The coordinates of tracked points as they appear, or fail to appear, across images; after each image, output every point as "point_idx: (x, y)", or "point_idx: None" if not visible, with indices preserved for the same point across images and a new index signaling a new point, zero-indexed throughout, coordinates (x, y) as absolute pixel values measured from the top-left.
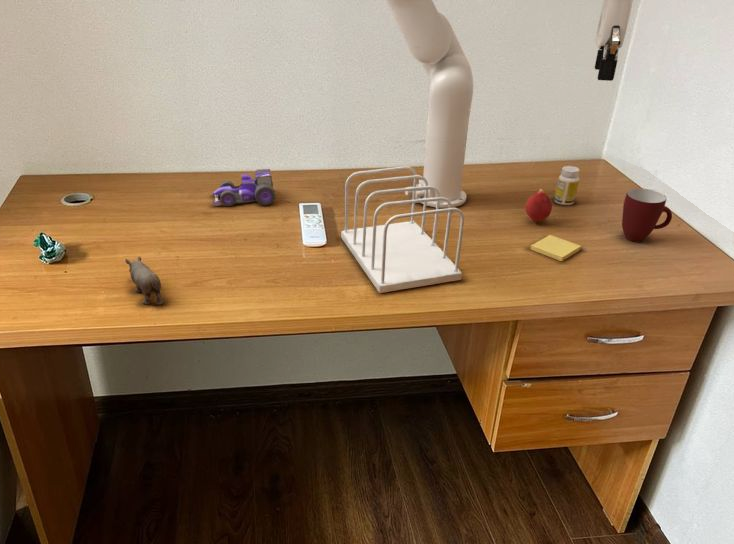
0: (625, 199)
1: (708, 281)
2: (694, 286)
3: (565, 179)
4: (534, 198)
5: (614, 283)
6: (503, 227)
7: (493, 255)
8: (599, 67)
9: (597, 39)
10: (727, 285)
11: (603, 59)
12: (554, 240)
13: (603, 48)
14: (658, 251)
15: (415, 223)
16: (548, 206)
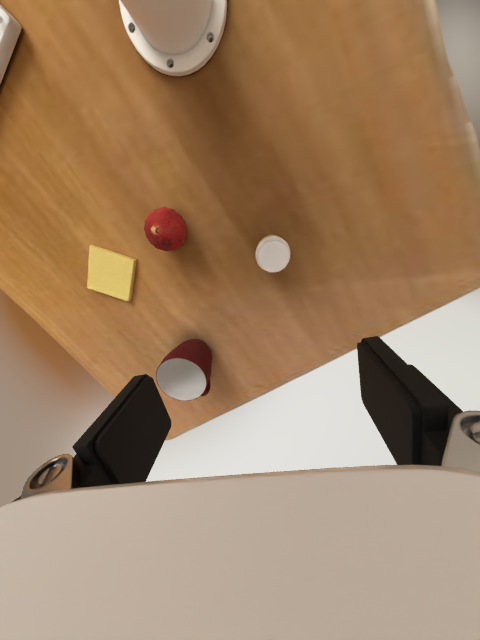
0: (172, 354)
1: None
2: None
3: (257, 251)
4: (147, 222)
5: (84, 341)
6: (131, 187)
7: (47, 204)
8: (360, 363)
9: (68, 561)
10: None
11: (44, 464)
12: (121, 269)
13: (436, 452)
14: None
15: (3, 27)
16: (156, 247)
